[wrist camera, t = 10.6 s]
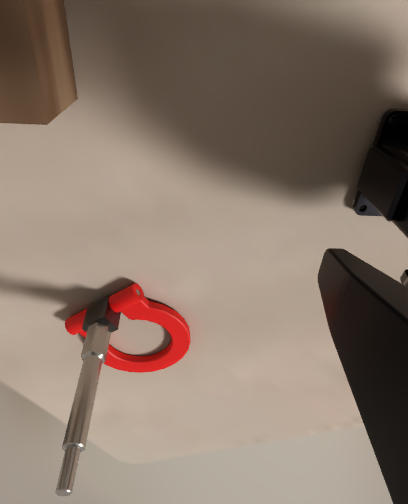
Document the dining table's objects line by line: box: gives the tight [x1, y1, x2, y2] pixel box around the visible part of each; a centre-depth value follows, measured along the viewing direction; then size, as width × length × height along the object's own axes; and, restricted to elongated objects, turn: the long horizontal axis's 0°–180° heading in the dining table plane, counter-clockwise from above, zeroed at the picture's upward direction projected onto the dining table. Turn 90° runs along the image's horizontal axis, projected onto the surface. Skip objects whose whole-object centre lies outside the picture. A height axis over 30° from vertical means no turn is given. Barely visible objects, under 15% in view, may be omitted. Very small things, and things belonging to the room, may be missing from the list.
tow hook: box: [56, 284, 190, 496], centre depth 24 cm, size 8×13×9 cm
